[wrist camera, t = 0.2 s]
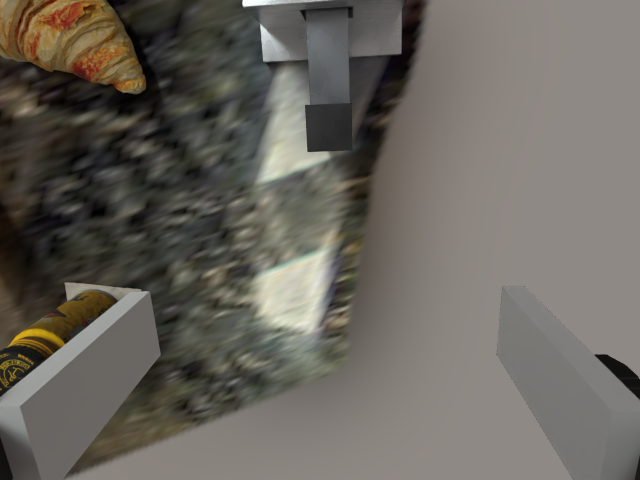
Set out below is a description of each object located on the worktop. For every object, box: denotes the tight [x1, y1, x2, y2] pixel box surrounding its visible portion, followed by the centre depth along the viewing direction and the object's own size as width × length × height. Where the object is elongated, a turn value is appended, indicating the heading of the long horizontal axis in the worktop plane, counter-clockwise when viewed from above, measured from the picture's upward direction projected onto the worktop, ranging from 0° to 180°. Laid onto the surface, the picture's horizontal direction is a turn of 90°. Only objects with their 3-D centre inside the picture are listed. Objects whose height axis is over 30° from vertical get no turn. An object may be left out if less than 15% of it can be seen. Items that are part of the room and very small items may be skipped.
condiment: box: [0, 283, 141, 391], centre depth 41 cm, size 7×8×12 cm
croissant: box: [0, 0, 146, 94], centre depth 35 cm, size 21×10×8 cm, turn 52°
